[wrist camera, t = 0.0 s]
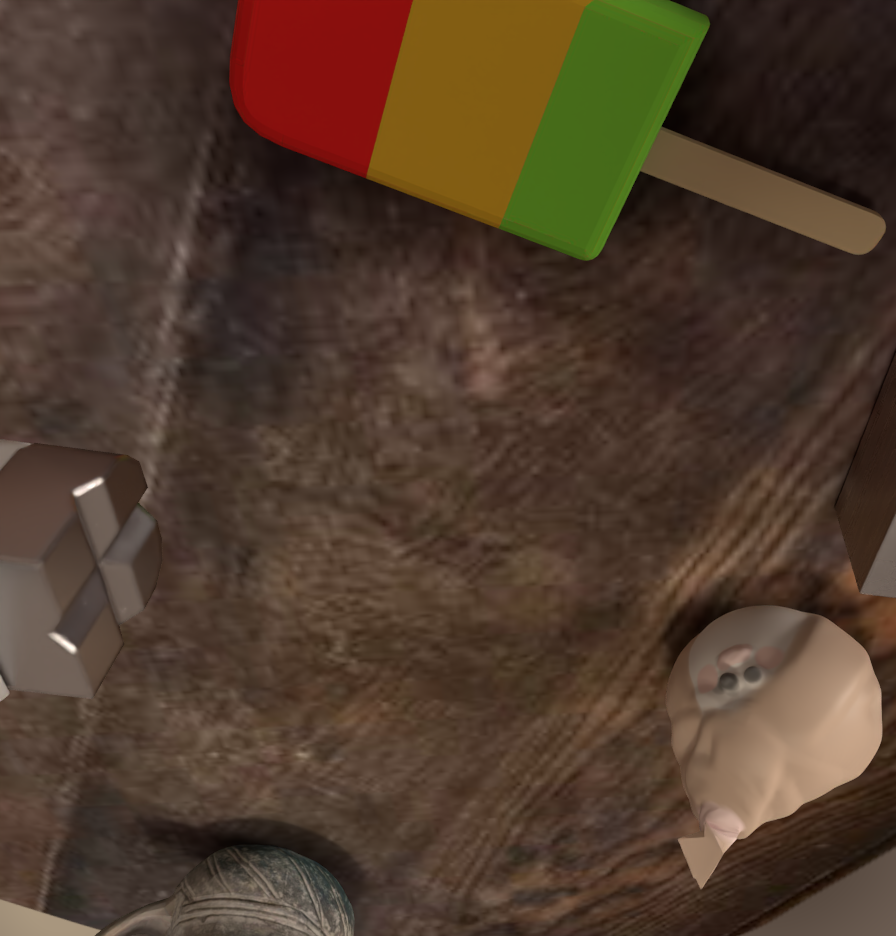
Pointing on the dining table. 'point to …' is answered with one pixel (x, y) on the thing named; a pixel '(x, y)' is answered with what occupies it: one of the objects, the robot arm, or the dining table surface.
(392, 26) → the popsicle
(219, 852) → the mug
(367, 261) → the dining table surface
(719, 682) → the garlic bulb
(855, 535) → the long grey metal bar
